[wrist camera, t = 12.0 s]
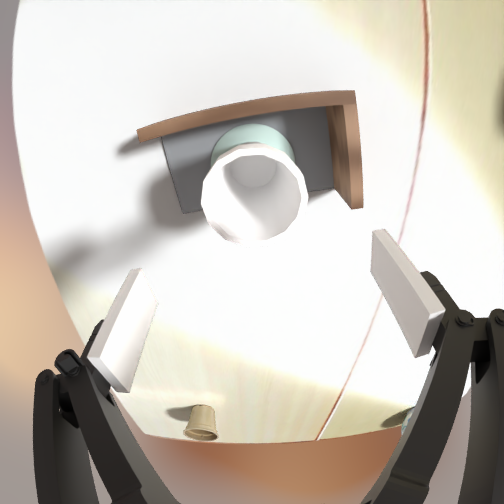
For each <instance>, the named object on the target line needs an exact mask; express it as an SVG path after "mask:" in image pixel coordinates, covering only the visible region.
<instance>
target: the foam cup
mask: <svg viewBox="0 0 504 504" xmlns="http://www.w3.org/2000/svg"><path fill="white" fill-rule="evenodd" d="M307 202H308V193H307V189H306V185H305V180H304V176H303V174H302V173H301V171H300V170H299V168H298V167H297V166H296V165H295V164H294V162H293V161H292V160H291V159H290V158H289V157H288V155H287V154H286V153H285V152H283V151H281V150H278V149H276V148H274V147H271V146H269V145H266V144H264V143H260V142H245V143H243V144H241V145H238V146H236V147H234V148H232V149H231V150H229V151H227V152H225V153H224V154H222V155H220V156H219V157H218V159H217V160H216V162H215V163H214V165H213V166H212V168H211V169H210V171H209V172H208V174H207V175H206V177H205V179H204V181H203V189H202V198H201V205H202V208H203V211H204V213H205V216H206V218H207V221H208V223H209V225H210V226H211V227H212V228H213V229H214V230H215V231H217V232H218V233H219V234H220V235H221V236H222V237H223V238H224V239H225V240H228V241H231V242H234V243H237V244H240V245H242V246H245V247H252V246H269V245H271V244H273V243H275V242H277V241H279V240H281V239H283V238H285V237H288V236H289V235H290V234H291V233H292V231H293V230H294V229H295V228H296V227H297V226H298V224H299V223H300V222H301V221H302V220H303V217H304V213H305V210H306V206H307Z"/></svg>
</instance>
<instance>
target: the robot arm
mask: <svg viewBox="0 0 504 504" xmlns="http://www.w3.org/2000/svg"><path fill="white" fill-rule="evenodd" d="M370 272H371V273H372V275H373V277H374V279H375V281H376V282H377V284H378V286H379V288H380V290H381V291H382V293H383V295H384V297H385V299H386V301H387V303H388V305H389V306H390V308H391V310H392V312H393V314H394V316H395V318H396V320H397V322H398V324H399V326H400V328H401V330H402V332H403V334H404V336H405V338H406V340H407V342H408V344H409V347H410V349H411V351H412V353H413V355H414V357H415V358H417V357H420V356H423V355H426V354H429V352H430V350H431V347H432V345H433V347H434V349H435V351H436V352H435V355H434V357H433V359H432V361H431V364H430V366H431V367H430V370H429V372H428V375H427V378H426V381H425V384H424V386H423V389H422V391H421V394H420V396H419V399H418V401H417V404H416V406H415V408H414V411H413V413H412V415H411V418H410V420H409V422H408V424H407V426H406V428H405V430H404V433H403V435H402V437H401V439H400V441H399V443H398V445H397V447H396V448H395V450H394V452H393V454H392V456H391V458H390V459H389V461H388V463H387V465H386V467H385V468H384V470H383V472H382V473H381V475H380V476H379V478H378V480H377V481H376V483H375V484H374V486H373V487H372V489H371V490H370V491H369V492H368V494H367V495H366V496H365V498H364V499H363V501H362V502H361V504H423V502H424V500H425V499H426V496H427V494H428V491H429V482H430V479H431V477H432V475H433V473H434V471H435V469H436V466H437V464H438V462H439V460H440V457H441V455H442V452H443V450H444V448H445V445H446V443H447V440H448V437H449V435H450V432H451V429H452V426H453V423H454V420H455V417H456V414H457V411H458V408H459V404H460V401H461V397H462V394H463V390H464V386H465V382H466V378H467V374H468V369H469V364H470V362H471V390H472V391H471V419H470V420H471V421H470V433H469V443H468V451H467V458H466V465H465V471H464V476H463V482H462V486H461V491H460V495H459V500H458V504H504V310H503V309H494V310H493V311H491V313H490V315H489V318H475V317H474V316H473V315H472V314H471V313H470V312H468V311H466V310H460V309H459V308H458V306H457V305H456V303H455V302H454V301H453V299H452V298H451V297H450V295H449V294H448V292H447V291H446V290H445V288H444V287H443V286H442V285H441V283H440V282H439V280H438V279H437V278H436V277H435V276H434V275H433V274H431V273H430V272H428V271H425V272H421V273H419V271H418V270H417V269H416V267H415V266H414V265H413V263H412V262H411V261H410V259H409V258H408V257H407V256H406V254H405V253H404V252H403V250H402V249H401V248H400V247H399V245H398V244H397V243H396V242H395V241H394V239H393V238H392V237H391V236H390V234H389V233H388V232H387V231H386V230H385V229H381V230H375V231H372V255H371V271H370ZM157 306H158V302H157V300H156V298H155V296H154V294H153V292H152V290H151V288H150V285H149V283H148V281H147V279H146V277H145V275H144V272H143V270H142V268H139V269H133V270H130V272H129V274H128V276H127V277H126V279H125V281H124V283H123V285H122V287H121V288H120V290H119V292H118V294H117V296H116V298H115V300H114V302H113V304H112V306H111V308H110V310H109V312H108V314H107V316H106V318H105V320H101V321H100V322H99V323H98V324H97V325H96V326H95V328H94V330H93V332H92V335H91V336H90V338H89V341H88V342H87V345H86V347H85V349H84V351H83V353H82V355H81V357H80V358H79V356H78V355H77V354H76V353H75V351H74V350H72V349H67V350H65V351H62V352H61V353H60V354H59V355H58V356H57V358H56V360H55V367H56V368H57V369H58V370H59V372H60V373H61V374H58V375H55V374H54V373H53V372H52V371H51V370H49V369H46V370H44V371H42V372H41V373H40V374H39V375H38V377H37V378H36V382H35V395H34V409H33V410H34V411H33V452H34V470H35V480H36V489H37V497H38V503H39V504H99V501H98V497H97V493H96V489H95V485H94V480H93V476H92V471H91V466H90V460H89V454H88V450H89V452H90V455H91V457H92V460H93V462H94V464H95V466H96V469H97V471H98V473H99V475H100V477H101V479H102V481H103V483H104V485H105V487H106V489H107V491H108V493H109V495H110V497H111V499H112V503H111V504H180V503H179V502H178V501H177V500H176V499H175V498H174V497H173V495H172V494H171V493H170V491H169V490H168V489H167V487H166V486H165V484H164V483H163V482H162V480H161V479H160V477H159V476H158V474H157V473H156V471H155V470H154V468H153V467H152V465H151V464H150V462H149V461H148V459H147V457H146V456H145V454H144V453H143V451H142V449H141V448H140V446H139V444H138V443H137V441H136V439H135V438H134V436H133V434H132V432H131V431H130V429H129V427H128V425H127V423H126V421H125V419H124V418H123V416H122V414H121V412H120V410H119V408H118V406H117V404H116V402H115V400H114V398H113V395H112V394H111V393H110V392H109V390H110V387H111V386H112V387H113V388H114V389H115V391H116V392H123V393H130V390H131V386H132V383H133V379H134V376H135V373H136V369H137V366H138V363H139V360H140V356H141V353H142V350H143V347H144V344H145V341H146V338H147V335H148V332H149V329H150V326H151V323H152V320H153V317H154V314H155V311H156V309H157ZM59 409H60V412H59Z"/></svg>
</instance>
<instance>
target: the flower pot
mask: <svg viewBox="0 0 504 504" xmlns="http://www.w3.org/2000/svg"><path fill="white" fill-rule="evenodd" d="M183 434H184V435H185V436H186V437H188V438H190V439H193V440H198V441H214V440H217V439H218V438H219V435H218V434H217V430H216V424H215V411H214V409H213V408H212V407H209V406H206V405H201V406H199V405H196V406H194V407H193V408H192V412H191V415H190V418H189V422H188V425H187V427H186V429H185V430H184V431H183Z"/></svg>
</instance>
